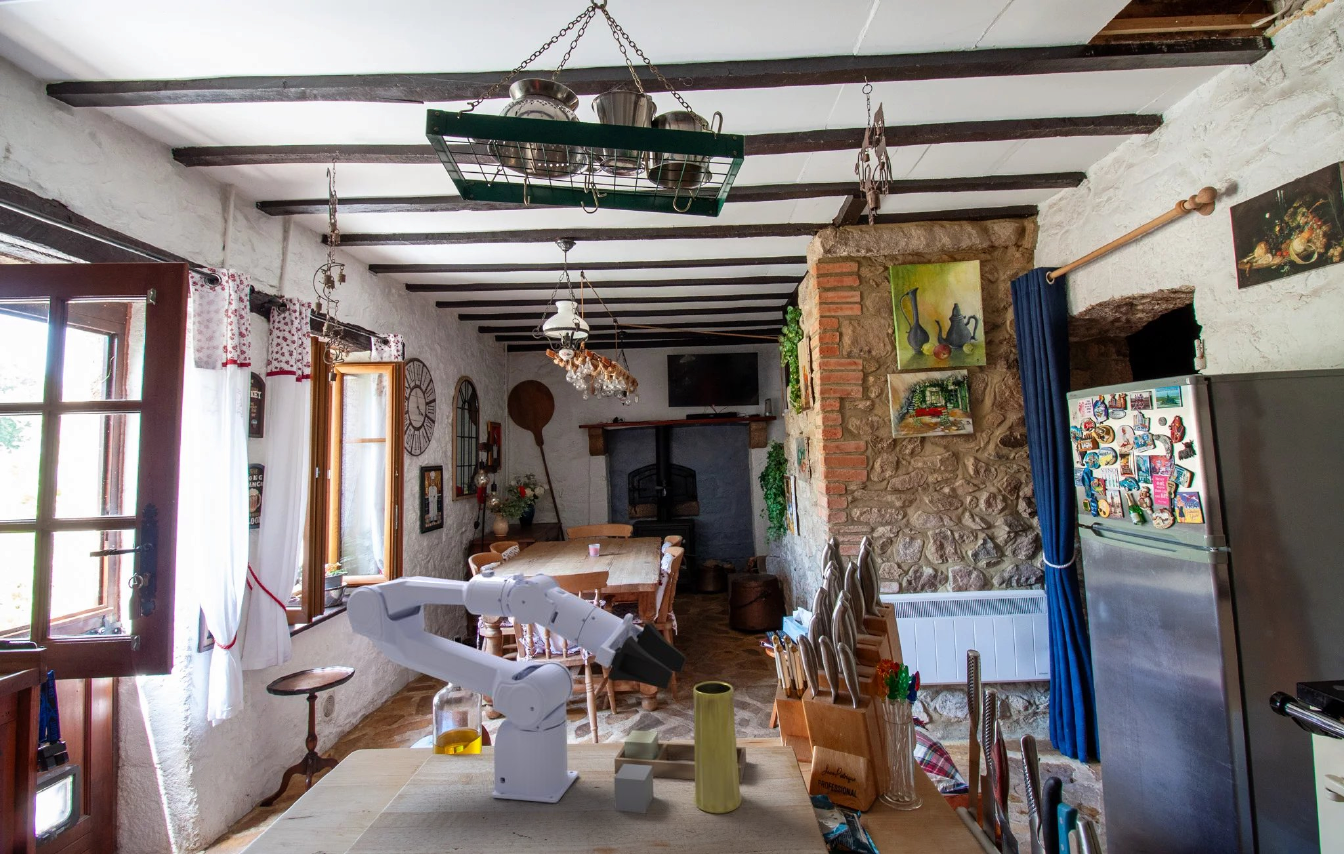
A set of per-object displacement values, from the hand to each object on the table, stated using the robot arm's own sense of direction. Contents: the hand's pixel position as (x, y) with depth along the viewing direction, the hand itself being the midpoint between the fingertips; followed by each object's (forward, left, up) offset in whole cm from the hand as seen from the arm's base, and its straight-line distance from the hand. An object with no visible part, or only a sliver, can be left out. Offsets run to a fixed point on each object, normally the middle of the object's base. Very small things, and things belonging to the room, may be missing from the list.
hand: (677, 672), depth 80 cm
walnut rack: (-2, +9, -16) cm, 19 cm away
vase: (+5, +1, -16) cm, 17 cm away
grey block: (-6, -1, -16) cm, 17 cm away
